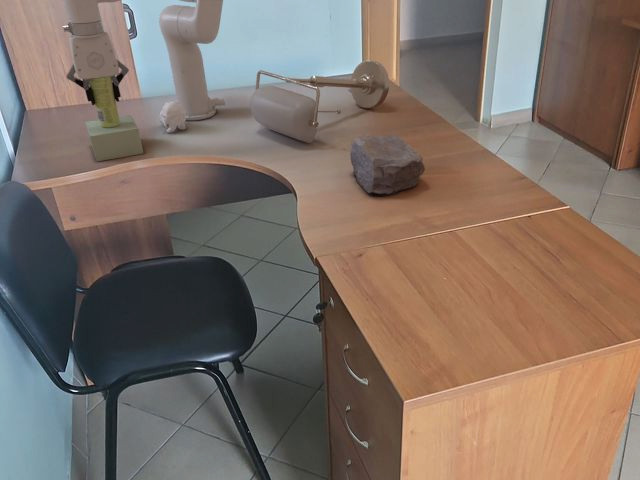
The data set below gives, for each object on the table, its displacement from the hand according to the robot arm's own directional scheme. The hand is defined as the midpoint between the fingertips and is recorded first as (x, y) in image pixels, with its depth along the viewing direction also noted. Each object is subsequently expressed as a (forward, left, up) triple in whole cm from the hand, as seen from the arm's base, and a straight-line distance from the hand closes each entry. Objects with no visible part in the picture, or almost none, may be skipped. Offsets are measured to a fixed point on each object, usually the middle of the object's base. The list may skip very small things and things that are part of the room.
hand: (105, 101), depth 154 cm
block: (0, 0, -13) cm, 13 cm away
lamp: (-60, +7, -14) cm, 62 cm away
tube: (0, 0, -7) cm, 7 cm away
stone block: (-56, +52, -14) cm, 78 cm away
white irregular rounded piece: (-17, -10, -14) cm, 24 cm away
